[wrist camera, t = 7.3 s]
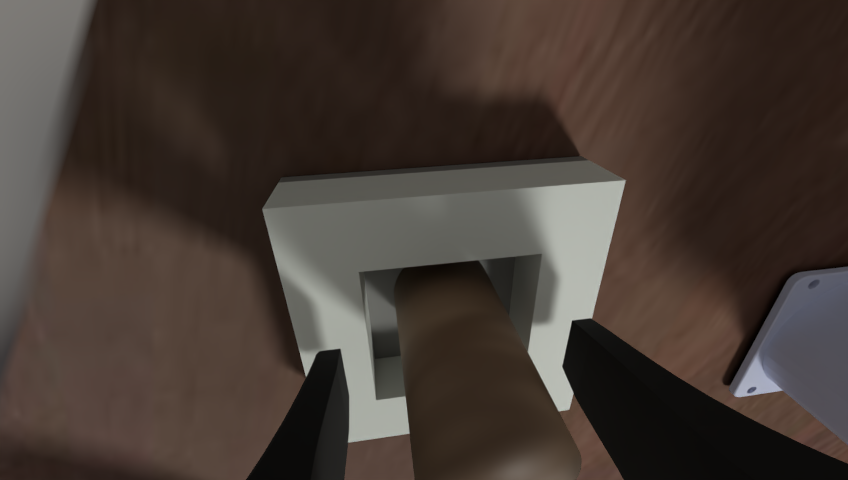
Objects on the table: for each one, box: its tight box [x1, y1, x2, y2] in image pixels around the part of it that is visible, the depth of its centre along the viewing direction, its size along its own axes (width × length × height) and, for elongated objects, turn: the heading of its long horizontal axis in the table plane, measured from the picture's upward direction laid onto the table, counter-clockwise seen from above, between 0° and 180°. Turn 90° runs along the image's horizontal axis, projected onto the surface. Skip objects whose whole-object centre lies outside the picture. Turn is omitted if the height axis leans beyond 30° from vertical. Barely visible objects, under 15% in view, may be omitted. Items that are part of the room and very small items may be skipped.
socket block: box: [262, 156, 626, 443], centre depth 13 cm, size 10×10×2 cm
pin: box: [394, 260, 581, 480], centre depth 11 cm, size 4×4×7 cm
